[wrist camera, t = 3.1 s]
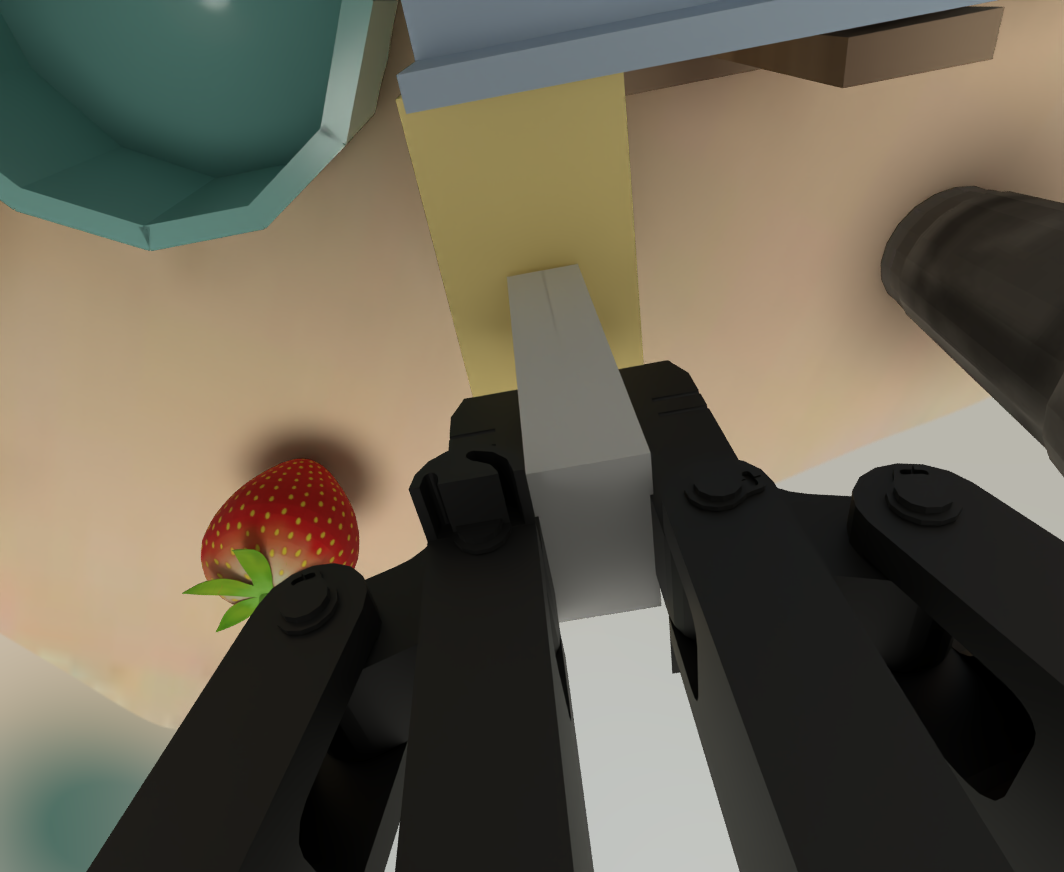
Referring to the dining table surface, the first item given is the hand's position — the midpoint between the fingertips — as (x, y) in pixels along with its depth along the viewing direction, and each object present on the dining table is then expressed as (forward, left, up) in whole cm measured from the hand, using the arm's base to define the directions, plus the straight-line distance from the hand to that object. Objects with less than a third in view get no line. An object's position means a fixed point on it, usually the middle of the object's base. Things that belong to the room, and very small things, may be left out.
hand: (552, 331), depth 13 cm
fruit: (+9, -11, -10) cm, 17 cm away
